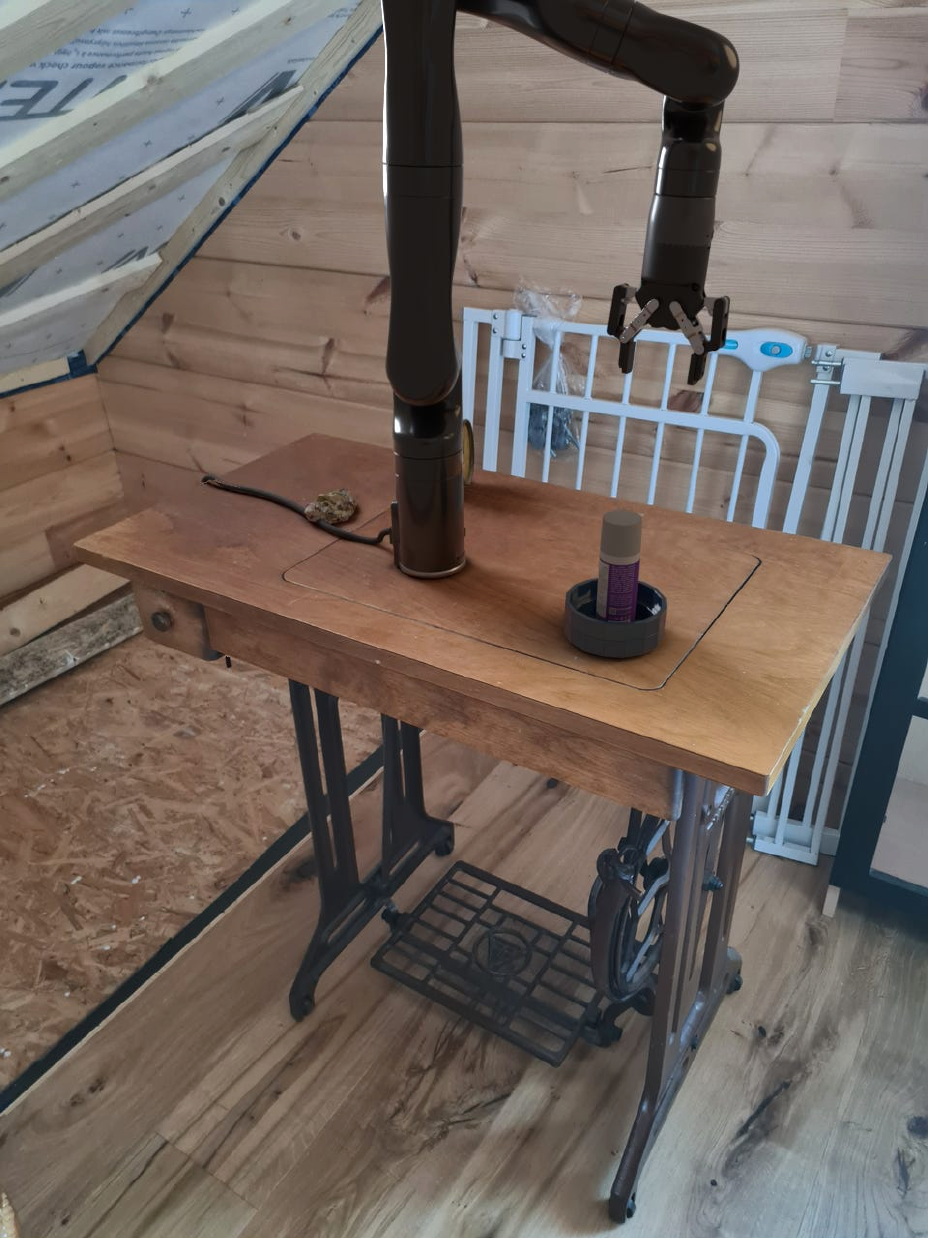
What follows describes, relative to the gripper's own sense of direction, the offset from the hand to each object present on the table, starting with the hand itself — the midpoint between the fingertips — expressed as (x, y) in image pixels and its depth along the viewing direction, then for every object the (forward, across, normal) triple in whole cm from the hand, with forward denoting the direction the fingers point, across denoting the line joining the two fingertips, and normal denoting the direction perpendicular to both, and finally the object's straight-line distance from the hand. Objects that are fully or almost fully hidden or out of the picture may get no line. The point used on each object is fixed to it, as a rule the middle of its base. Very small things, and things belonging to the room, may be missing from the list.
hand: (659, 378), depth 114 cm
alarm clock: (+28, -38, +15) cm, 49 cm away
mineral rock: (+29, -50, -3) cm, 58 cm away
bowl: (+27, +4, -17) cm, 33 cm away
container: (+27, +4, -17) cm, 32 cm away
